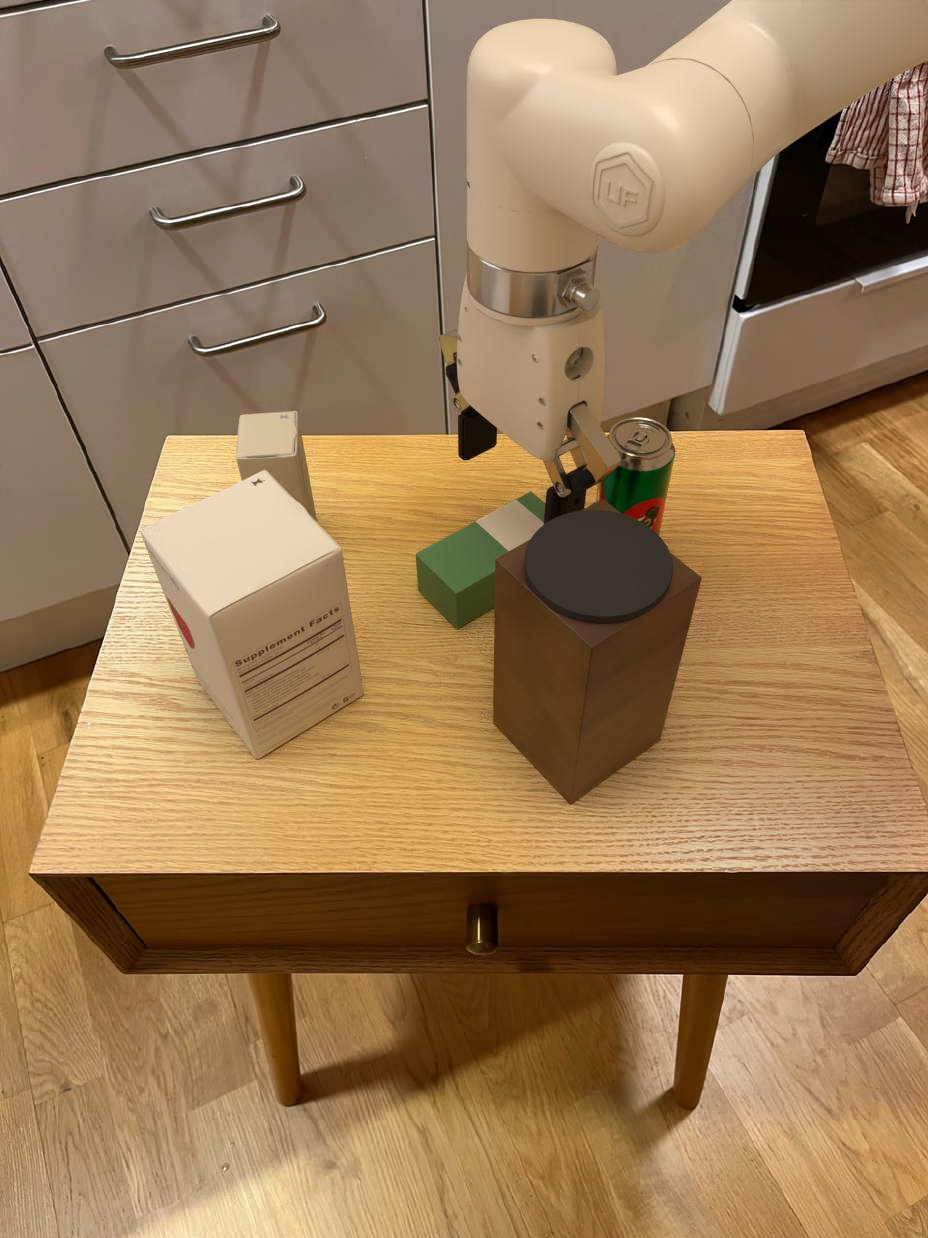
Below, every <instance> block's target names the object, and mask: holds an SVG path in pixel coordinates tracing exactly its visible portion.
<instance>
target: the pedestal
mask: <svg viewBox="0 0 928 1238" xmlns="http://www.w3.org/2000/svg"><path fill="white" fill-rule="evenodd" d="M583 510H604V511H611V512H616V513H620V512H619V511H617V510H616V509H615V508H614V507H612V506H611V505H610V504H608V503H607V502H606V501H605V500H603V499H600V500H599V501H597V502H595V501H594V502H593V503H591V504H590V505H588V506H586V507H584V509H583ZM581 511H582V510H581ZM620 514H621V513H620ZM529 541H530V540H528V541H526V542H524V543H523V544H521V545H519V546H517V547H516V548H514V549H512V550H510V551H509V552H507V553H505V554H503V555H501V556H500V557H498V558H496V559H495V607H494V614H493V615H494V617H493V618H494V619H493V620H494V623H493V682H492V683H493V684H492V685H493V687H492V688H493V692H492V696H493V697H492V723H493V724H494V725H495V727H497V728H498V729H499V730H500V732H501V733H502V734H503V735H504V736H505V737H506V738H507V739H508V740H509V741H510V742H511V743H512V744H513V745H514V747H516V749H518V751H519V752H520V753H521V754H522V755H523V756H524V757H525V759H527V760H528V762H530V763H531V765H532V766H533V767H534V768H535V769H536V770H537V771H538V773H540V774H541V775H542V776H543V777H544V779H546V780H547V781H548V783H549V784H551V786H552V787H553V788H554V789H555V790H556V791H557V792H558V793H559V794H560V795H561V796H562V798H563V799H564V800H565V801H566V802H567V803H568V804H569V805H572V804H573V803H575V802H576V801H578V800H579V799H581V798H582V797H583V796H584V795H586V794H587V793H589V792H590V791H592V790H593V789H595V788H596V787H598V786H599V785H600V784H602V783H603V782H604V781H606V780H607V779H608V778H610V777H611V776H613V775H614V774H615V773H617V772H618V771H620V770H622V768H624V767H625V766H626V765H628V764H629V763H631V762H632V761H634V760H635V759H636V758H638V757H639V756H641V755H642V754H643V753H644V752H646V751H647V750H649V749H650V748H652V747H653V746H654V745H656V744H657V743H658V742H660V741H662V735H663V731H664V729H665V728H664V727H665V724H666V719H667V716H668V713H669V712H668V711H669V708H670V705H671V700H672V696H673V692H674V688H675V684H676V681H677V677H678V673H679V669H680V666H681V661H682V657H683V654H684V650H685V645H686V642H687V638H688V634H689V630H690V626H691V622H692V618H693V614H694V610H695V607H696V603H697V599H698V595H699V591H700V587H701V583H702V578H703V577H702V576H701V575H699V573H697V572H696V571H694V569H692V568H691V567H690V566H689V565H687V564H686V563H684V562H683V561H682V560H681V559H679V558H678V557H677V556H676V555H674V554H673V553H672V552H671V551H670V554H671V557H672V561H673V575H672V579H671V583H670V587H669V589H668V591H667V593H666V595H665V596H664V598H663V599H662V600H661V601H660V602H659V603H658V604H657V605H656V606H655V607H654V608H652V609H651V610H650V611H648V612H646V613H645V614H643V615H641V616H639V617H636V618H634V619H630V620H627V621H622V622H616V623H591V622H584V621H580V620H576V619H573V618H570V617H567V616H564V615H562V614H560V613H558V612H556V611H555V610H553V609H551V608H550V607H548V606H547V605H546V604H545V603H543V602H542V601H541V600H540V599H539V598H538V597H537V596H536V594H535V593H534V592H533V590H532V589H531V587H530V585H529V583H528V581H527V578H526V575H525V568H524V565H525V552H526V548H527V545H528V543H529Z"/></svg>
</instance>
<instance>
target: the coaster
mask: <svg viewBox="0 0 928 1238" xmlns="http://www.w3.org/2000/svg"><path fill="white" fill-rule="evenodd" d="M670 552H671V550H669V547H668V546H667V544H666V542H665V540H664V539H663V538H662V537H661V536H660V534H659V535H658V534H657V533H656V532H655V531H654V530H653V529H651V528H650V527H648V526H647V525H646V524H644V523H642V522H640V521H639V520H637V519H634V518H632V517H630V516H627V515H624V514H620V513H616V512H611V511H604V510H582V511H576V512H571V513H567V514H564V515H561V516H558V517H556V518H554V519H552V520H550V521H549V522H547V523H546V524H544V525H543V526H542V527H541V528H539V529H538V530H537V531H536V533H535V534H534V535H533V536H532V538H531V539H530V541H529V543H528V545H527V548H526V552H525V565H524V568H525V575H526V578H527V581H528V583H529V585H530V587H531V589H532V590H533V592H534V593H535V594H536V596H537V597H538V598H539V599H540V600H541V601H542V602H543V603H545V604H546V605H547V606H548V607H550V608H551V609H553V610H555V611H556V612H558V613H560V614H562V615H564V616H567V617H570V618H573V619H576V620H580V621H584V622H591V623H616V622H622V621H627V620H630V619H634V618H636V617H639V616H641V615H643V614H645V613H646V612H648V611H650V610H651V609H652V608H654V607H655V606H656V605H657V604H658V603H659V602H660V601H661V600H662V599H663V598H664V596H665V595H666V593H667V591H668V589H669V587H670V583H671V579H672V575H673V561H672V557H671V554H670Z"/></svg>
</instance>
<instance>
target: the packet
mask: <svg viewBox="0 0 928 1238" xmlns="http://www.w3.org/2000/svg"><path fill="white" fill-rule="evenodd" d="M545 502H546V501H543V500H542V499H541V498H540V497H539V496H538V495H536V494H535V493H534V492H532V491H529V492H527V493H525V494H523V495H521V496H520V497H519V496H518V497H517V498H514V499H513V500H511V501H509V502H508V503H506V504H504V505H502V506H500V507H498V508H496V509H495V510H493V511H491V512H489V513H487V514H485V515H483V516H482V517H480V518H478V519H476V520H475V521H473V522H471V523H469V524H467V525H466V526H463V527H462V528H460V529H459V530H456V531H455V532H453V533H450V534H449V535H447V536H445V537H444V538H442V539H439V540H438V541H436V542H434V543H433V544H431V545H429V546H427V547H425V548H422V550H419V551H418V552H416V553H415V564H416V578H417V590H418V591H419V592H420V593H421V594H422V595H423V597H425V599H426V600H428V601H429V602H430V604H431V605H433V607H435V609H437V610H438V612H439V613H440V614H441V615H443V617H445V619H446V620H447V621H448V622H450V624H452V626H453V627H454V628H455V629H456V630H460V628H462V627H464V626H465V625H468V624H469V623H471V622H473V621H474V620H476V619H477V618H479V617H481V616H482V615H485V614H486V613H487V612H489V611H491V610H492V609H495V559H496V558H498V557H500V556H501V555H503V554H505V553H507V552H509V551H510V550H512V549H514V548H516V547H517V546H519V545H521V544H523V543H524V542H526V541H528V540H530V539H531V538H532V536H533V535H534V534H535V533H536V531H537V530H538V529H539V528H541V527H542V526H543V525H544V514H545Z"/></svg>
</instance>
